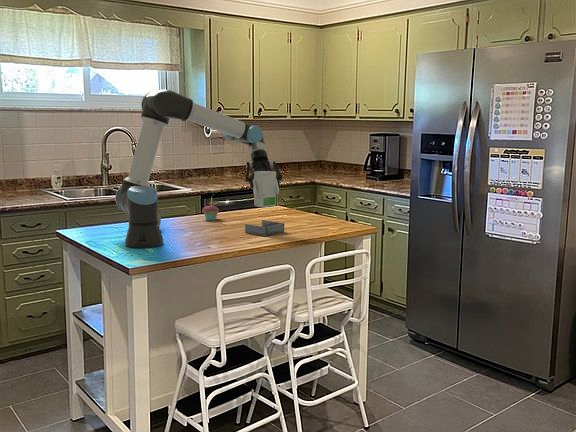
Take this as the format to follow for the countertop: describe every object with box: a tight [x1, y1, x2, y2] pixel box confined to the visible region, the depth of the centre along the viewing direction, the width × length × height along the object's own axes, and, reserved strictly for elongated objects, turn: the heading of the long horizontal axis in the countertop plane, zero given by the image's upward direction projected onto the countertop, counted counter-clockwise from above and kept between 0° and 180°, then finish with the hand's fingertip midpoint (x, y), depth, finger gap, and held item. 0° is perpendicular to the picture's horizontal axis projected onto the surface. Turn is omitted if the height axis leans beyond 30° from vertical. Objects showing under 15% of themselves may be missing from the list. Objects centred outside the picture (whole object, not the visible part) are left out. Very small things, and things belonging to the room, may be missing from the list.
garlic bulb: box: [158, 212, 162, 229], centre depth 263 cm, size 9×8×10 cm
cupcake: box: [201, 197, 220, 221], centre depth 287 cm, size 9×8×12 cm
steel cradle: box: [244, 219, 285, 237], centre depth 258 cm, size 13×13×4 cm
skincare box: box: [253, 170, 277, 208], centre depth 255 cm, size 8×7×16 cm
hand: (266, 192), depth 252 cm, fingers closed on skincare box, 10 cm apart
